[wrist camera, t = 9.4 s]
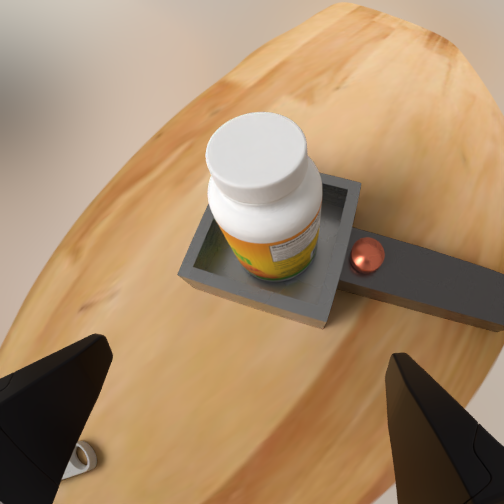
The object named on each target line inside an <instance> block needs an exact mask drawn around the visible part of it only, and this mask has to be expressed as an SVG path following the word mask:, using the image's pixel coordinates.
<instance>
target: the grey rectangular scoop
mask: <svg viewBox="0 0 504 504" xmlns="http://www.w3.org/2000/svg"><path fill="white" fill-rule="evenodd" d="M319 174H320V176H321V181H322V205H321V216H320V227H319V237H318V245H317V250H316V254H315V256H314V258H313V260H312V262H311V263H310V265H309V266H308V267H307V268H306V269H305V270H304V271H303V272H302V273H301V274H299V275H298V276H296V277H294V278H292V279H289V280H285V281H280V282H269V281H264V280H261V279H258V278H256V277H254V276H253V275H251V274H250V273H248V272H247V271H246V270H245V269H244V268H243V266H242V265H241V264H240V262H239V260H238V259H237V257H236V255H235V253H234V252H233V250H232V248H231V246H230V245H229V243H228V241H227V240H226V238H225V236H224V234H223V232H222V231H221V229H220V227H219V225H218V223H217V222H216V220H215V218H214V216H213V214H212V211H211V209H210V206H209V204H208V206H207V208H206V210H205V213H204V215H203V217H202V219H201V221H200V224H199V226H198V228H197V230H196V233H195V235H194V237H193V239H192V242H191V244H190V246H189V249H188V251H187V253H186V256H185V258H184V260H183V263H182V265H181V267H180V270H179V272H178V274H177V275H178V276H179V277H181V278H182V279H183V280H185V281H186V282H187V283H188V284H190V285H191V286H192V287H194V288H196V289H199V290H202V291H204V292H207V293H210V294H213V295H216V296H219V297H222V298H225V299H228V300H231V301H234V302H237V303H240V304H243V305H246V306H249V307H252V308H255V309H258V310H261V311H265V312H268V313H271V314H274V315H277V316H281V317H284V318H287V319H290V320H294V321H297V322H300V323H304V324H307V325H310V326H314V327H317V328H321V329H323V328H324V326H325V324H326V322H327V319H328V316H329V313H330V309H331V306H332V302H333V299H334V296H335V292H336V289H339V290H343V291H346V292H350V293H354V294H357V295H361V296H364V297H368V298H372V299H375V300H379V301H382V302H386V303H390V304H393V305H397V306H401V307H404V308H408V309H412V310H415V311H419V312H423V313H426V314H430V315H434V316H438V317H441V318H445V319H449V320H452V321H456V322H460V323H464V324H468V325H471V326H475V327H479V328H483V329H487V330H490V331H494V332H499V331H502V330H504V274H502V273H499V272H496V271H493V270H490V269H487V268H484V267H482V266H479V265H476V264H473V263H470V262H467V261H464V260H460V259H457V258H454V257H451V256H448V255H445V254H442V253H439V252H435V251H432V250H429V249H426V248H422V247H419V246H416V245H412V244H409V243H406V242H402V241H399V240H396V239H392V238H389V237H385V236H382V235H378V234H375V233H371V232H367V231H364V230H360V229H356V228H353V227H352V225H353V221H354V217H355V212H356V207H357V203H358V198H359V193H360V188H361V183H359V182H355V181H352V180H348V179H344V178H339V177H335V176H331V175H327V174H323V173H319Z"/></svg>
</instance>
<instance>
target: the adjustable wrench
mask: <svg viewBox="0 0 504 504" xmlns="http://www.w3.org/2000/svg"><path fill="white" fill-rule="evenodd" d="M77 447H80V448H81V449H82V450H83V451H84V453H85V454H86V457H87V461H88V464H87V465H84V464H83V463H82V462H80V460H79V459H78V457H77V453H76V449H77ZM96 464H97V458H96V454H95V452H94V450H93V449H92V447H91V446H90V445H89V444H88V443H86V442H84V441H78V442H77V444H76V446H75V449H74V451H73V453H72V456H71V458H70V460H69V463H68V465H67V468H66V470H65V473H64V475H63V477H62V479H66V478H69V477H72V476H75V475H78V474H80V473H83V472H86V471H89V470H92V469H93V468H95V466H96Z"/></svg>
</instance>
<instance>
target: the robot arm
mask: <svg viewBox="0 0 504 504" xmlns="http://www.w3.org/2000/svg"><path fill="white" fill-rule="evenodd" d="M112 359H113V354H112V351H111V348H110V346H109V343H108V341H107V339H106V337H105V336H104V335H101V334H92V335H90V336H88V337H86V338H84V339H82V340H79V341H77V342H75V343H73V344H71V345H69V346H67V347H65V348H63V349H61V350H59V351H57V352H55V353H53V354H51V355H49V356H47V357H44V358H42V359H40V360H38V361H36V362H34V363H32V364H30V365H28V366H26V367H24V368H22V369H20V370H18V371H16V372H15V373H11V374H9V375H7V376H5V377H3V378H1V379H0V504H53V501H54V498H55V496H56V493H57V491H58V488H59V485H60V482H61V480H62V477H63V475H64V473H65V470H66V468H67V465H68V463H69V460H70V458H71V456H72V453H73V451H74V449H75V446H76V444H77V442H78V440H79V437H80V435H81V433H82V431H83V429H84V426H85V424H86V422H87V420H88V418H89V416H90V413H91V411H92V409H93V407H94V405H95V403H96V401H97V399H98V396H99V394H100V392H101V389H102V386H103V383H104V381H105V378H106V375H107V373H108V370H109V367H110V365H111V362H112ZM385 384H386V398H387V417H388V429H389V436H390V442H391V449H392V456H393V463H394V471H395V480H396V489H397V500H398V504H504V446H502V445H501V444H500V443H499V442H498V441H497V440H496V439H495V438H494V437H493V436H492V435H491V434H489V433H488V432H487V431H486V430H485V429H484V428H483V427H482V426H481V425H480V424H478V422H477V421H476V420H475V419H474V418H473V417H472V416H471V415H470V414H469V413H468V412H467V411H466V410H465V409H464V408H463V407H462V406H461V405H460V404H459V403H458V402H457V401H456V400H455V399H454V398H453V397H452V396H451V395H450V394H449V393H448V392H447V391H446V390H445V389H444V388H442V387H441V386H440V385H439V384H438V383H437V382H436V381H435V380H434V379H433V378H432V377H431V376H430V375H429V374H428V373H427V372H426V371H425V370H424V369H423V368H422V367H420V366H419V365H418V364H417V363H416V362H415V361H414V360H413V359H412V358H411V357H410V356H409V355H408V354H406V353H394V354H392V355H391V357H390V361H389V364H388V368H387V371H386V376H385Z"/></svg>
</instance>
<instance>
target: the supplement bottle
mask: <svg viewBox="0 0 504 504" xmlns="http://www.w3.org/2000/svg"><path fill="white" fill-rule="evenodd" d="M206 162H207V166H208V169H209V171H210V173H211V178H210V181H209V186H208V201H209V206H210V209H211V211H212V214H213V216H214V218H215V220H216V222H217V223H218V225H219V227H220V229H221V231H222V232H223V234H224V236H225V238H226V240H227V241H228V243H229V245H230V246H231V248H232V250H233V252H234V253H235V255H236V257H237V259H238V260H239V262H240V264H241V265H242V266H243V268H244V269H245V270H246V271H247V272H248V273H250V274H251V275H253V276H254V277H256V278H258V279H261V280H264V281H269V282H280V281H285V280H289V279H292V278H294V277H296V276H298V275H299V274H301V273H302V272H303V271H304V270H305V269H306V268H307V267H308V266H309V265H310V263H311V262H312V260H313V258H314V256H315V254H316V250H317V245H318V237H319V227H320V216H321V205H322V181H321V176H320V174H319V171H318V169H317V167H316V165H315V164H314V162H313V161H312V160H311V158H310V157H309V156H308V155H307V142H306V138H305V135H304V133H303V132H302V130H301V129H300V127H299V126H298V125H297V124H296V123H295V122H293V121H292V120H290V119H289V118H287V117H285V116H282V115H279V114H275V113H270V112H255V113H248V114H244V115H241V116H238V117H236V118H233V119H231V120H229V121H228V122H226V123H225V124H223V125H222V126H221V127H220V128H218V129H217V131H216V132H215V133H214V134H213V135H212V137H211V139H210V140H209V143H208V145H207V149H206Z"/></svg>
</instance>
